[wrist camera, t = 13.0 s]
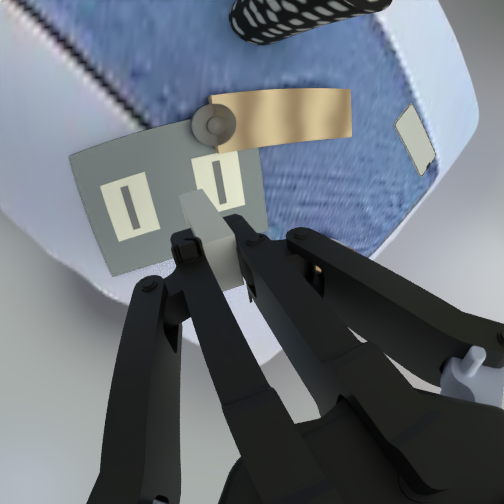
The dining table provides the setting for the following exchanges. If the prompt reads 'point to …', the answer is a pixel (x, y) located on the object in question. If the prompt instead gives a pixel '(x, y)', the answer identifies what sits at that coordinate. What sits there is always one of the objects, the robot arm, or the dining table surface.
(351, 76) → the dining table surface
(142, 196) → the label panel
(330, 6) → the spotted tube
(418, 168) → the smartphone
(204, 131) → the swing arm
